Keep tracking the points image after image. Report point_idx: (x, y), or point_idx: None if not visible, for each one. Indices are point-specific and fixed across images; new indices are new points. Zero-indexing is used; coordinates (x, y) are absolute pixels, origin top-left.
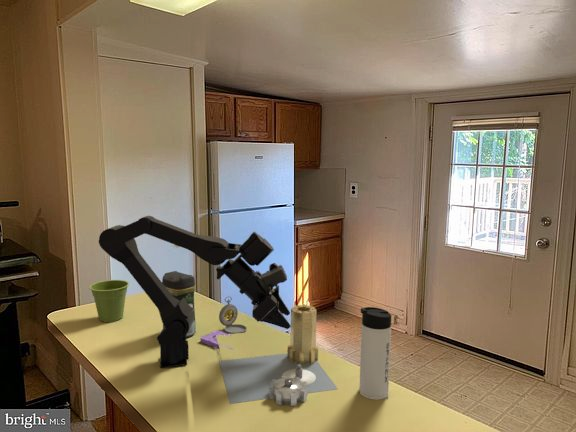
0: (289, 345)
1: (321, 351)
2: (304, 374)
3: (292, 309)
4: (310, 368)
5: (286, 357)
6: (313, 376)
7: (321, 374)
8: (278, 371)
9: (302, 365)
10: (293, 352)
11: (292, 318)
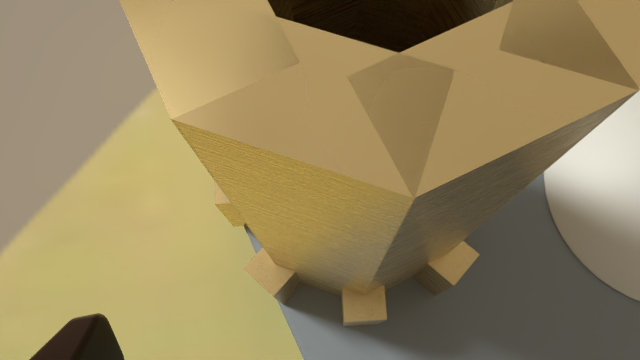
0: (355, 305)
1: (147, 105)
2: (615, 152)
3: (487, 146)
4: None
5: (375, 333)
6: None
7: None
8: (631, 353)
9: None
10: (466, 248)
11: (495, 190)
